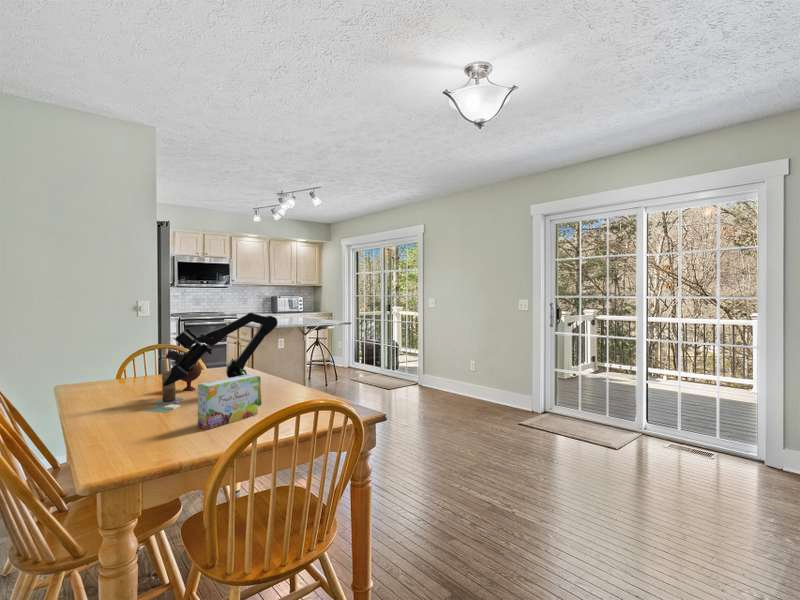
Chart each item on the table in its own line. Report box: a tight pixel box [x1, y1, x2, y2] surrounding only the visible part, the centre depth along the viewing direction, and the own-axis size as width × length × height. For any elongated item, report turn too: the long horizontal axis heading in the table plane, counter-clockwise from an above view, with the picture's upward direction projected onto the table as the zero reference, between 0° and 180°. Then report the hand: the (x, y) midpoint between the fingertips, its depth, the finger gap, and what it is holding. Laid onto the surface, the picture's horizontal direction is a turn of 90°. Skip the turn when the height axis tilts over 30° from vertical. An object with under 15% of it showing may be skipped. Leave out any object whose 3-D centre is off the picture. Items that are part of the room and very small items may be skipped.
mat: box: [144, 404, 181, 414], centre depth 169 cm, size 10×8×1 cm
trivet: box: [153, 396, 185, 406], centre depth 181 cm, size 11×11×1 cm
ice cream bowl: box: [180, 363, 202, 392], centre depth 201 cm, size 11×11×15 cm
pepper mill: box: [161, 370, 176, 402], centre depth 180 cm, size 5×5×12 cm
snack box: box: [197, 373, 259, 431], centre depth 154 cm, size 21×6×15 cm, turn 148°
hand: (164, 383), depth 180 cm, fingers open, 6 cm apart
